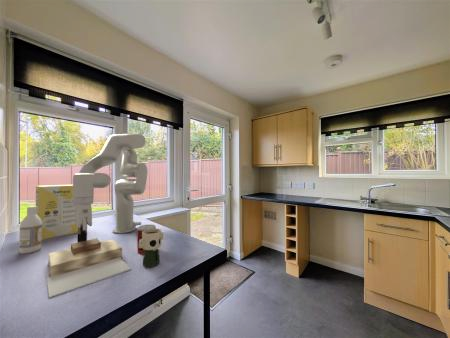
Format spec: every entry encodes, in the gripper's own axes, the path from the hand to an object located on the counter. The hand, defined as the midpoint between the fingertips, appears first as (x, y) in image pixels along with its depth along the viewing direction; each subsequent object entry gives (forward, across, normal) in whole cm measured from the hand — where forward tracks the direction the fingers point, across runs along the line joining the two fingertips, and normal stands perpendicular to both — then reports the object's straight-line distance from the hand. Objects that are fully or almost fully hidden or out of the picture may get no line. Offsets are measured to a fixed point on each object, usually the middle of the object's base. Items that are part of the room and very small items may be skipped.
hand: (82, 241), depth 83 cm
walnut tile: (+1, -8, 0) cm, 8 cm away
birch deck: (+5, -10, 0) cm, 11 cm away
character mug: (+5, -32, -17) cm, 37 cm away
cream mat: (+5, -24, +1) cm, 25 cm away
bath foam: (+5, +19, +16) cm, 25 cm away
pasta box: (+5, +41, +5) cm, 41 cm away
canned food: (+5, -18, -21) cm, 28 cm away
